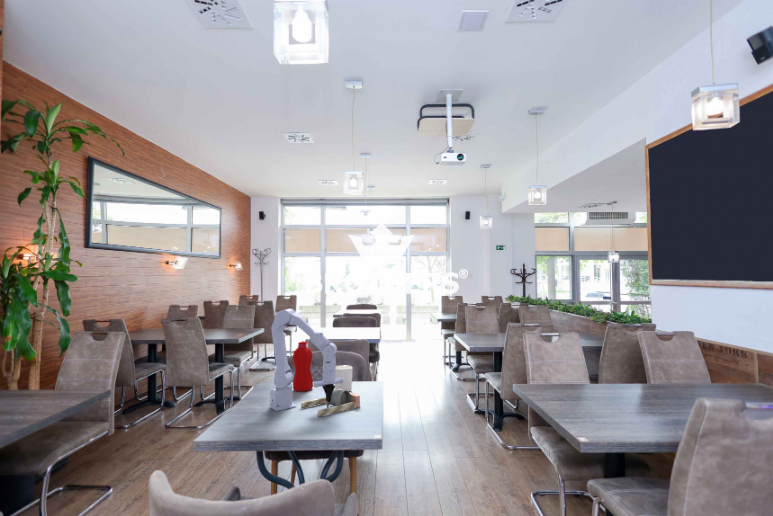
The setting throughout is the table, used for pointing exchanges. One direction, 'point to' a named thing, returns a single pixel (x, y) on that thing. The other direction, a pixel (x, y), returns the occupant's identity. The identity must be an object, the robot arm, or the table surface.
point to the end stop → (354, 398)
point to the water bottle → (302, 368)
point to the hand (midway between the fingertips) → (328, 401)
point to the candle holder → (344, 377)
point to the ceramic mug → (339, 398)
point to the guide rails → (327, 410)
